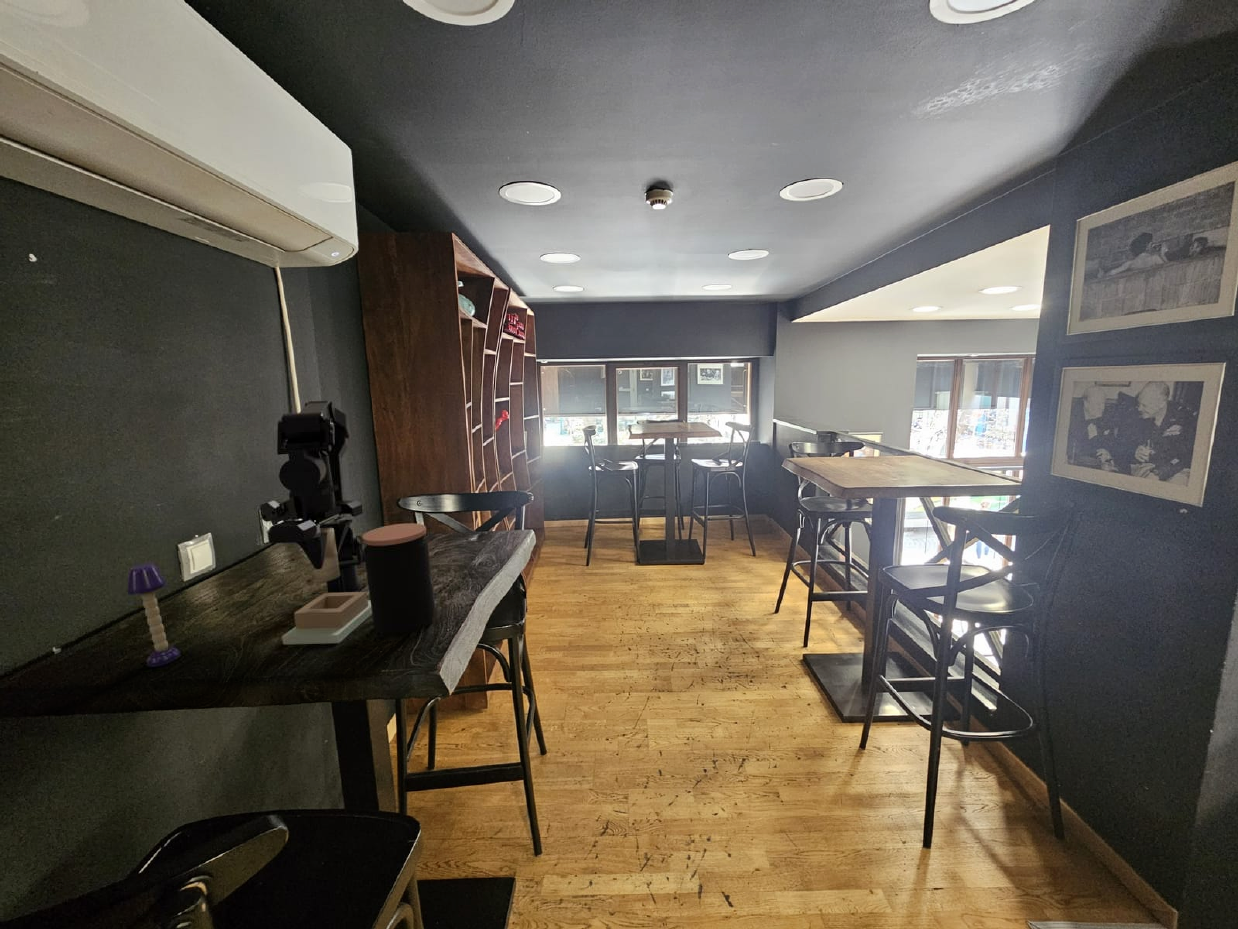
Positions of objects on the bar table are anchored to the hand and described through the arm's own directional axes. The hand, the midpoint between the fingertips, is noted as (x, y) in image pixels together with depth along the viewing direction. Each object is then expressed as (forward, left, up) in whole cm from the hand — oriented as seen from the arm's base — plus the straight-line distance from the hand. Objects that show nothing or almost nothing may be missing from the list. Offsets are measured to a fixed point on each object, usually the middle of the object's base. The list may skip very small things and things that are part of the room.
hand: (325, 564), depth 91 cm
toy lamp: (+11, -23, -12) cm, 28 cm away
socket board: (0, 0, -12) cm, 12 cm away
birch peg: (0, 0, -2) cm, 2 cm away
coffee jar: (+1, +14, -12) cm, 19 cm away
